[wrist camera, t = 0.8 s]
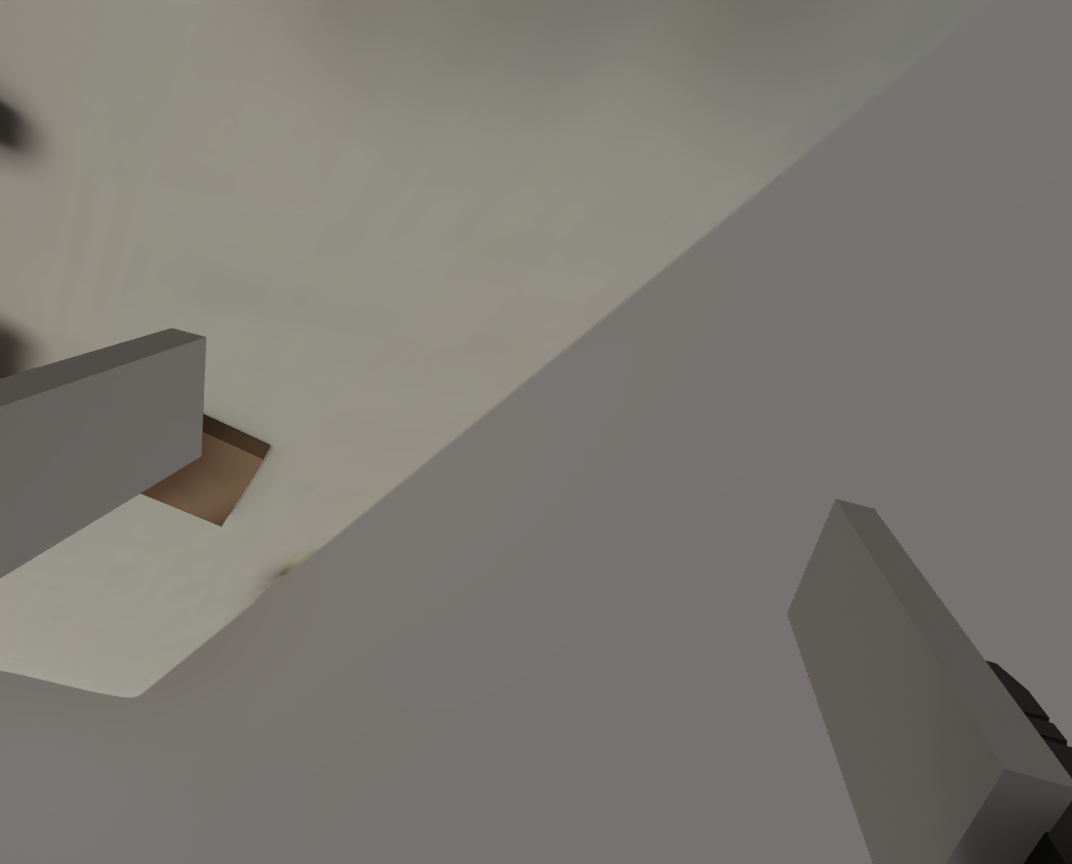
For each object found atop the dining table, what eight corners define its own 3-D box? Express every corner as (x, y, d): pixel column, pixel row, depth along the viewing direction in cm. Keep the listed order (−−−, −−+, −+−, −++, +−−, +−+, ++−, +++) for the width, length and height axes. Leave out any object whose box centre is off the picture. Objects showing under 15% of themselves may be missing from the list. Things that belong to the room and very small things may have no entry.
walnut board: (87, 454, 47) (77, 467, 46) (111, 371, 41) (100, 385, 40) (228, 513, 51) (221, 526, 50) (270, 445, 44) (263, 459, 44)
